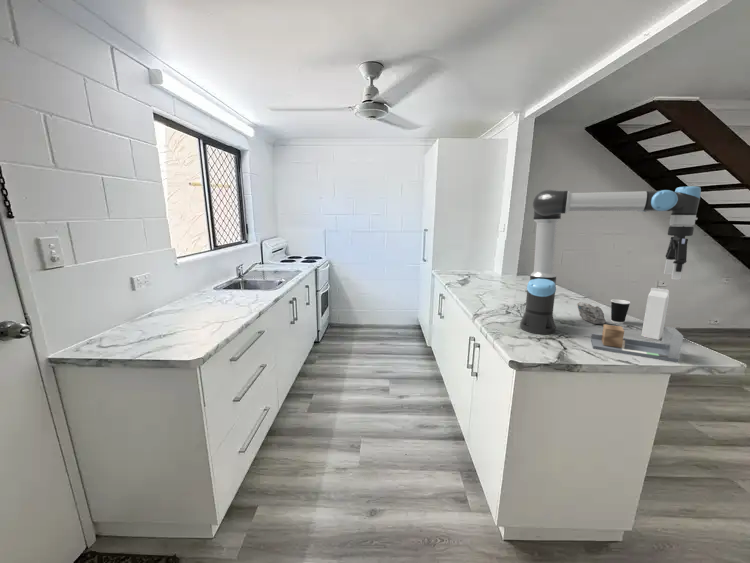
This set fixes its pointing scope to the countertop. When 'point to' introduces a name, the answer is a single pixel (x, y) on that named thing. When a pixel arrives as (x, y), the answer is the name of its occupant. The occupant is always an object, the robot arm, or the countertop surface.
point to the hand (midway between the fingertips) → (671, 277)
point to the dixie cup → (619, 310)
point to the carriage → (613, 336)
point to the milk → (655, 313)
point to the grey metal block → (671, 342)
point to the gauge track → (633, 348)
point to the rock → (591, 313)
